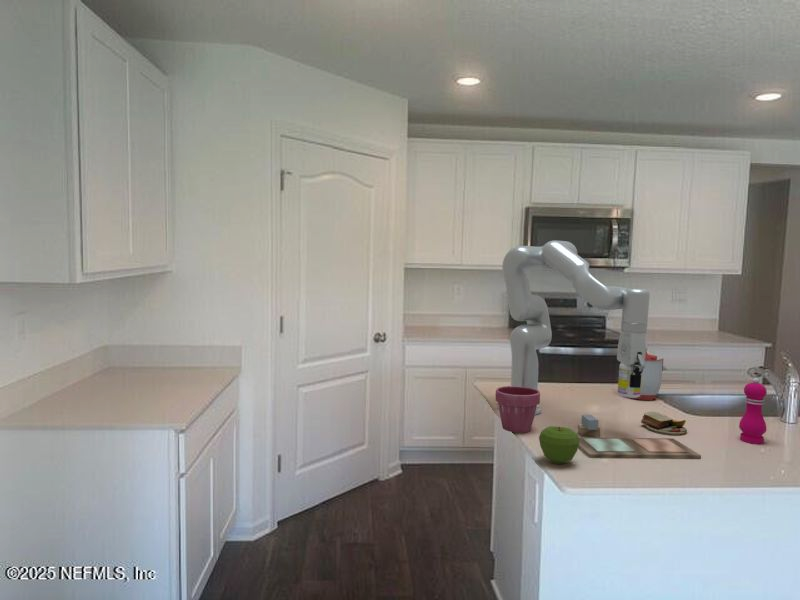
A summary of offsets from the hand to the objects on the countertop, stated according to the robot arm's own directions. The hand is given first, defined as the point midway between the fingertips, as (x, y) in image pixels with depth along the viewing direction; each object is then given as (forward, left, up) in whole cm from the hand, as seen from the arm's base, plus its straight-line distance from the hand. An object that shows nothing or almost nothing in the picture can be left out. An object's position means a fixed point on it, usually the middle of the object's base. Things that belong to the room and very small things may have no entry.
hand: (629, 384), depth 177 cm
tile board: (-4, -12, -17) cm, 21 cm away
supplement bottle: (0, 0, -4) cm, 4 cm away
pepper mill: (+38, -3, -17) cm, 42 cm away
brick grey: (-12, +1, -14) cm, 18 cm away
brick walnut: (-12, +1, -17) cm, 21 cm away
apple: (-30, -23, -17) cm, 41 cm away
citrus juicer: (+30, +52, -17) cm, 62 cm away
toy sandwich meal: (+16, +8, -17) cm, 25 cm away
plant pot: (-34, +7, -17) cm, 38 cm away
